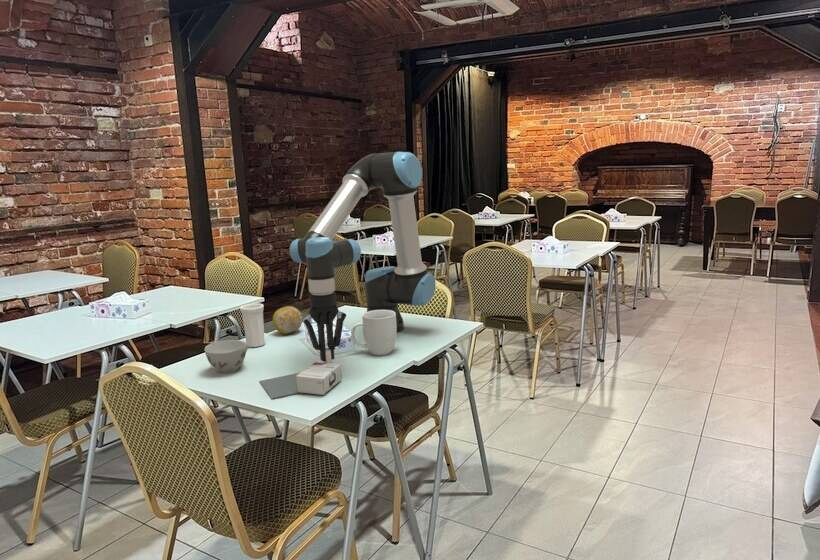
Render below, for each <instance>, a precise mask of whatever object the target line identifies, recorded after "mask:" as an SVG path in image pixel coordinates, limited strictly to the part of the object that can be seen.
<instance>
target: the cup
mask: <svg viewBox="0 0 820 560" xmlns="http://www.w3.org/2000/svg"><path fill="white" fill-rule="evenodd" d="M264 308H265V306H264V304H263V303H247V304H244V305H241V306H240V307H239V310H240V313H241V314H242V323H243V328H244V336H245V342H246V343H247V346H248V348H256V347H257V348H258V347H262V346H263V345H265V344H266V342H265V327H264Z"/></svg>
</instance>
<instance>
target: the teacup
mask: <svg viewBox="0 0 820 560" xmlns="http://www.w3.org/2000/svg"><path fill="white" fill-rule="evenodd" d="M248 349H249V347H248V346H247V343H246V341H244V340H239V339H238V340H237V339H235V340H234V339H232V340H231V339H230V340H228V339H225V340H219V341H215V342H211V343H209V344H207V345H206V346H205V348H204V353H205V356H206V359H207V361H208V363H209V364H210V366H212V367H213V368H214V369H215V370H217V372H219V373H222V374H229V373H233V372H236V371H237V370H238V368H239V367H240V366H241V365H242V364H243V362H244V361H245V358H246V354H247V352H248Z"/></svg>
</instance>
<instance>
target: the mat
mask: <svg viewBox="0 0 820 560" xmlns="http://www.w3.org/2000/svg"><path fill="white" fill-rule="evenodd" d="M301 372H302V371H300V372H297V373H291V374H287V375H283V376H276V377H273V378H268V379H261V380H259V384H260V385H261V386H262V387H263V389H264V391H265V392H266V393H267V396H269V398H270V397H271V398H270V399H271V400H272V399H273V400H277V399H282V398H286V397H289V396H290V397H291V396H295V395H296V396H297V395H299V394H300V395H301V394H303V393H302V392H297V387H296V375H298V374H299V373H301ZM335 386H336V384H335V385H334V386H333V387H335ZM276 398H277V399H276Z"/></svg>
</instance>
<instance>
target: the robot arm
mask: <svg viewBox="0 0 820 560" xmlns="http://www.w3.org/2000/svg"><path fill="white" fill-rule="evenodd" d="M422 169H423V168H422V164H421V162H420V160H419V159H418V157H416V155H415V154H414V153H412V152H410V151H406V152H405V151H391V152H380V153H379V152H378V153H376V152H375V153H370V154H368V155H365V156H364V157H362V158H361V159H359V160H358V161H357V162H355V164H353V165H352V166H351V167H350V168H349V170H348V171H347V172H346V173H345V175H344V176H343V177H342V184H341V185H340V187H338V189H337V190H336V192H335V194H334V195H333V196H332V198H331V199H330V201H328V203H327V204H326V206H325V208H324V209H323V211H322V212H321V213H320V215H319V216H318V218H317V219H316V220H315V222H314V223H313V225H311V227H310V229H309V230H308V232H307V233H306V234H305V235H304V237H303V238H297V239H295V240H293V241H292V242H291V243H290V245H289V256H290V258H291V259H292V261H293V262H294V263H299V264H304V265H306V268H307V281H308V282H307V283H308V284H307V285H308V292H309V293H310V294H309V296H308V297H309V306H310V307H309V308H310V309H309V312H308V315H307V316H306V317H302V324H304V325H305V327H306V330H307V332H308V336H309V339H310V342H311V345H312V347H313V349H314V350H316V351H319V358H320V360H321V361H322V362H323V363H333V361H332V360H335V351H334V350H335V349H336V348H337V347H339V346H340V345H341V339H342V334H343V333H342V332H343V328H344V322H345V319H346V317H347V313H346V312H343V311H340V309H339V308H338V306H337V293H336V292H335V291H336V280H335V279H336V278H335V269H337V268H340V267H347V266H351V265H352V264H354V263H357V262H358V261H359V260H360V258H361V256H362V251H361V250H362V249H361V246H360V244H359V243H358V242H357V240H355V239H353V238H349V239H346V238H345V239H342V240H341V239H340V240H336V239H335V240H334V237H336V235H337V233H338V232H339V231H340V229H341V227H342V226H343V225H344V223H345V221H346V220H347V218H348V217H349V216H350V214H351V213H352V211H353V210H354V208H355V207H356V206H357V204H358V203H359V202H360V200H361V198H364V197H365V196H367V195H368V193H369V192H370V191H371V190H374V189H382V194H383V197H384V198H386V199H387V200H388V206H389V212H390V220H391V227H392V233H393V241H394V249H395V255H396V262H397V265H396V266H397V267H396V266H393V265H392V266H391V265H389V266H382V267H378V268H372V269H369V270H367V271H366V272H365V275H364V277H365V279H364V281H365V282H364V285H365V297H366V312H368V311H373V310H391V311H394V312H395V313H396V325H397V333H398V332H400V331H403V330H404V326H405V323H404V322H405V321H404V319H403V316H402V314H401V312H400V309H399V305H407V306H413V307H417V306H418V307H421V306H422V307H424V306H426V305H429V303H430V302H431V301H432V298H433V297H434V294H435V291H436V284H437V283H436V278H435V276H434V274H432V273H429V272H428V266H427V265H426V264H425V263H423V261H422V253H421V244H420V238H419V230H418V221H417V214H416V206H415V204H416V203H415V199H414V195H416V193H417V192H418V187H419V186H420V185H421V183H422V178H423V170H422ZM335 318H336V323H335V329H333V328H334V323H333V322H334V321H335ZM313 321H314V322H315V323H316V326H317V336H316V332H315V330H314V327H313V324H312V323H313ZM325 330H326V333H325ZM325 334H326V335H325ZM317 337H318V339H317ZM326 345H327V347H326Z"/></svg>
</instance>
